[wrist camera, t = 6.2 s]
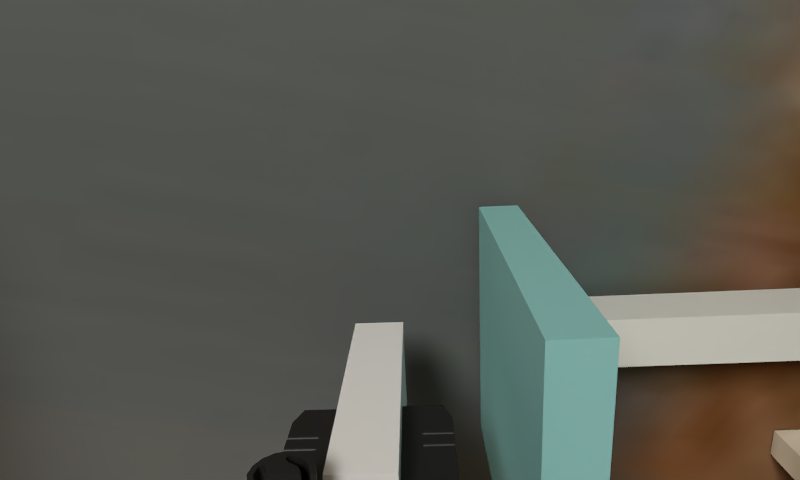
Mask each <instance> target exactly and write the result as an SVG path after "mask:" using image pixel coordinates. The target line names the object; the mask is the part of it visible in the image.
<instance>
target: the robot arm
mask: <svg viewBox="0 0 800 480" xmlns="http://www.w3.org/2000/svg"><path fill="white" fill-rule="evenodd" d="M247 480H459V473H458V465H457V456H456V448H455V439H454V431H453V422H452V417H451V416H450V414H449V413H448V412H447V411H446V409H445V408H444V407H443V406H442V405H431V406H407V396H406V374H405V352H404V331H403V322H392V323H359V324H355V329H354V333H353V338H352V342H351V347H350V352H349V356H348V361H347V365H346V370H345V374H344V379H343V384H342V388H341V393H340V397H339V402H338V406H337V409H335V410H305V411H304V412H303V413H302V414H301V415H300V416H299V417H298V418H297V419H296V420H295V421H294V422H293V423H292V426H291V429H290V432H289V435H288V440H287V441H286V444H285V447H284V452H281V453H275V454H272V455H270V456H267V457H265V458H263V459H261V460H260V461H259V462H257V463H256V464H255V465H253V466H252V468H251V469H250V471H249V472H248V474H247Z"/></svg>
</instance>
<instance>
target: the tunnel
mask: <svg viewBox="0 0 800 480" xmlns="http://www.w3.org/2000/svg"><path fill="white" fill-rule="evenodd" d="M770 454H771V455H772V456H773V457H774V458H775V459H776V460H777V461H778V463H779V464H780V465H781V466H782V467H783V468H784V469H785V470H786V471H787V472H788V473H789V474H790V475H791V476H792V478H793V479H794V480H800V430H777V431H774V435H773V441H772V447H771V453H770Z"/></svg>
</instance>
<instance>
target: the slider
mask: <svg viewBox="0 0 800 480" xmlns="http://www.w3.org/2000/svg"><path fill="white" fill-rule="evenodd" d="M479 272H480V389H481V429H482V434H483V439H484V444H485V449H486V454H487V459H488V464H489V469H490V473H491V478H492V480H610V470H611V456H612V442H613V428H614V414H615V401H616V387H617V373H618V367H638V366H666V365H693V364H721V363H748V362H776V361H800V288H792V289H767V290H742V291H717V292H692V293H667V294H642V295H617V296H592V297H588V296H587V294H586V293H585V292H584V290H583V289H582V288H581V287H580V285H579V284H578V283H577V281H576V280H575V279H574V278H573V276H572V275H571V274H570V272H569V271H568V270H567V269H566V267H565V266H564V265H563V263H562V262H561V261H560V260H559V258H558V257H557V256H556V254H555V253H554V252H553V251H552V249H551V248H550V247H549V245H548V244H547V243H546V242H545V240H544V239H543V238H542V236H541V235H540V234H539V233H538V231H537V230H536V229H535V227H534V226H533V225H532V224H531V222H530V221H529V220H528V218H527V217H526V216H525V215H524V213H523V212H522V211H521V209H520V208H519V207H518V206H517V205H514V206H491V207H479Z"/></svg>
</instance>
